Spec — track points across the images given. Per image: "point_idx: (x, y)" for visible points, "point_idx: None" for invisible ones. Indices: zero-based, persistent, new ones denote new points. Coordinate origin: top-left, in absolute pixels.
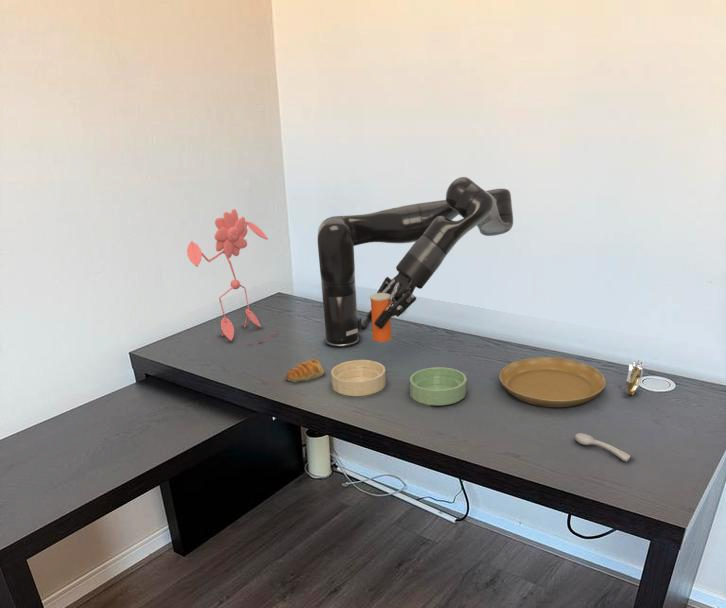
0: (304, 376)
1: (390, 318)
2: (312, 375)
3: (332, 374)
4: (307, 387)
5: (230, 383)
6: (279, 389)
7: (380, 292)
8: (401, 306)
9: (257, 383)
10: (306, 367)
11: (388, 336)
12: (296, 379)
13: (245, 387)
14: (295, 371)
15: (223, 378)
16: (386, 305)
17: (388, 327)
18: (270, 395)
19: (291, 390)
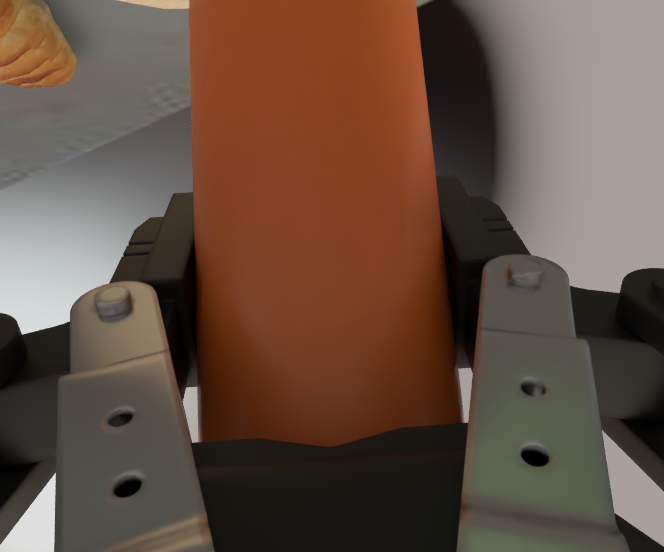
0: (57, 39)
1: (401, 196)
2: (36, 8)
3: (187, 6)
4: (119, 8)
5: (49, 162)
6: (122, 81)
7: (2, 529)
8: (586, 366)
9: (54, 120)
10: (12, 56)
11: (415, 10)
12: (75, 57)
13: (88, 141)
14: (37, 78)
15: (5, 170)
16: (462, 422)
17: (425, 114)
18: (173, 102)
19: (141, 55)
